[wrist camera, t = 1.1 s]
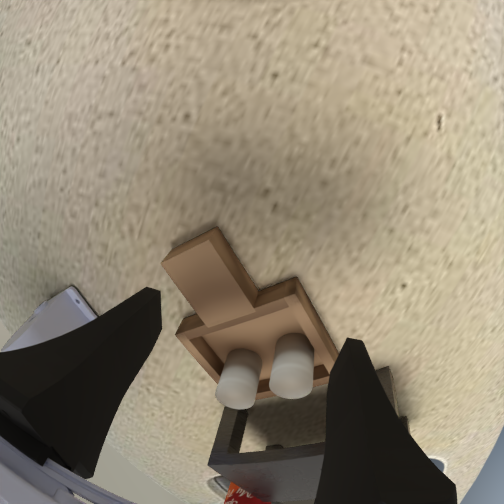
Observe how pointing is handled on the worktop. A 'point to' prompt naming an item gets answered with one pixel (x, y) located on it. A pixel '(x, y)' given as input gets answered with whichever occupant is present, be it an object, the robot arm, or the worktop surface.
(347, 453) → the robot arm
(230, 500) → the paper cup
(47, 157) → the worktop surface
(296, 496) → the riser
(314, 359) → the tray
